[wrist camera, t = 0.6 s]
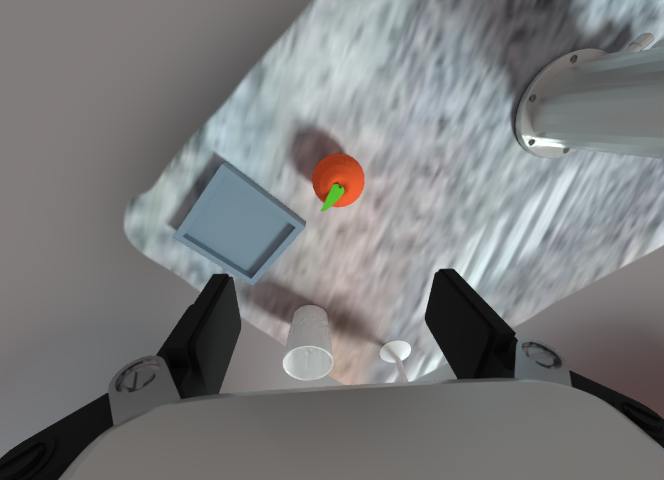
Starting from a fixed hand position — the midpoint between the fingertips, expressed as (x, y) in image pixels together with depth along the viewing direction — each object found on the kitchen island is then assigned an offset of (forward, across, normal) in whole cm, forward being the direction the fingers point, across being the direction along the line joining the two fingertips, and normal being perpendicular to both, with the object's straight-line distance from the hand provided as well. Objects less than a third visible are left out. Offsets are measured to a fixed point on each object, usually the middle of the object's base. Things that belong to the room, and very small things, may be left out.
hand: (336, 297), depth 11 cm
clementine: (+27, -2, 0) cm, 27 cm away
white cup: (+28, +2, +27) cm, 38 cm away
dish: (+28, +12, +8) cm, 31 cm away
